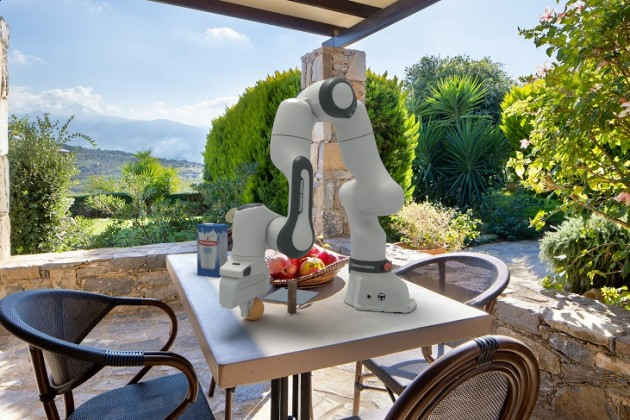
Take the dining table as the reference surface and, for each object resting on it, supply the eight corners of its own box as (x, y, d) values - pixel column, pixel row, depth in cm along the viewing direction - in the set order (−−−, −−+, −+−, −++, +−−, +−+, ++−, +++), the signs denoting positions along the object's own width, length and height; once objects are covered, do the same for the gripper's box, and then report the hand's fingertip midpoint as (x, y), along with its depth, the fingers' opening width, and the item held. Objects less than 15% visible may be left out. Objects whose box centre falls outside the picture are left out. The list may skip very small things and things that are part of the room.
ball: (262, 325, 110) (271, 306, 114) (253, 313, 107) (262, 294, 110) (244, 322, 113) (253, 304, 117) (235, 311, 109) (244, 292, 113)
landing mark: (319, 293, 138) (319, 292, 138) (302, 304, 125) (302, 304, 125) (282, 288, 143) (282, 287, 143) (262, 299, 130) (262, 298, 130)
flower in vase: (249, 259, 190) (249, 206, 188) (258, 264, 180) (258, 208, 178) (221, 261, 184) (221, 206, 182) (229, 266, 174) (229, 208, 172)
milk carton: (197, 275, 159) (196, 224, 157) (206, 271, 164) (205, 222, 163) (219, 277, 156) (219, 226, 154) (227, 274, 161) (227, 224, 160)
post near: (297, 310, 120) (298, 281, 119) (294, 313, 117) (294, 283, 116) (289, 309, 121) (290, 279, 120) (285, 312, 118) (286, 282, 117)
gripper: (256, 257, 118) (254, 304, 119) (215, 269, 99) (213, 325, 100) (276, 259, 116) (274, 307, 117) (237, 273, 97) (235, 330, 97)
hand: (245, 315), depth 108 cm, fingers closed
